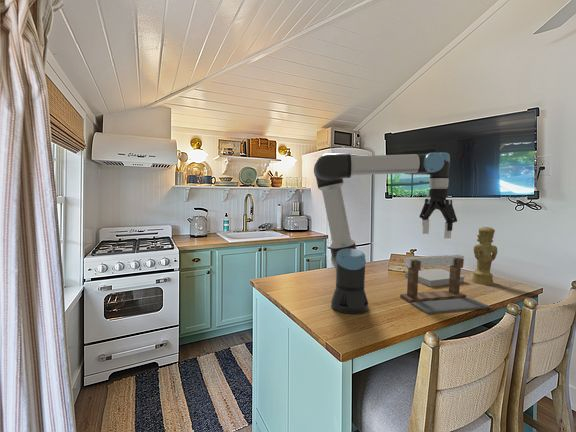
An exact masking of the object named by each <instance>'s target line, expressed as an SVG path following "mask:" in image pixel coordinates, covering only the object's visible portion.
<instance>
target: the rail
mask: <svg viewBox="0 0 576 432" xmlns="http://www.w3.org/2000/svg"><path fill="white" fill-rule="evenodd" d="M456 259H464V261H463V266H464V265H465V255H461V254H450V255H449V254H447V255H425V256H406V257H405V262H404V263H405V267H406V268H407V267H409V268H413V261H421V268H431V267H434V268H435V267H446V266H447V267H450V266H452V265H456Z"/></svg>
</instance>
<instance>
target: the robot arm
mask: <svg viewBox="0 0 576 432" xmlns="http://www.w3.org/2000/svg"><path fill="white" fill-rule="evenodd" d="M450 164H451V157H450V153H448V152H444V151H443V152H428V153H417V154H416V153H410V154H405V153H404V154H383V155H382V154H381V155H380V154H379V155H378V154H376V155H352V153H331V152H329V153H324V154H322V155H321V156H320V157H318V159H317V160H316V161H315V163H314V165H313V174H314V176H315V179H316V184H317V188H318V189H319V190H320V191H321V192H322V197H323V202H324V207H325V208H324V209H325V213H326V217H327V218H326V219H327V223H328V228H329V232H330V238H331V243H330V245H329V251H330V255H331V263H332V265H333V267H334V269H335V289H334V292H333V294H332V297H331V301H330V304H331V305H330V306H331V307H332V308H333V309H334V310H335V311H337V312H339V313H343V314H350V315H352V314H353V315H356V314H357V315H359V314H364V313H366V312H367V311H368V310H369V301H368V296H367V294H366V291H365V283H366V282H365V280H366V255H365V253H364V251H361V250H360V249H358V248H357V246H356V242H355V241H354V240H353V239H352V237H351V232H350V227H349V222H348V217H347V212H346V207H345V202H344V201H345V200H344V195H343V191H342V186H343V185H344V179H350V178H352V177H353V176H366V175H367V176H368V175H370V176H371V175H373V176H374V175H396V174H397V175H400V174H404V175H409V176H411V175H413V176H414V175H422V176H423V175H426V176H427V175H428V176H429V182H428V184H429V185H428V187H429V189H428V196H429V198H425V199H424V204H423V207H422V209H421V211H420V214H419V219H421V220H422V234H423V235H426V234H427V235H429V232H430V219H429V218H430V216H431V215H432V214H433V213H434V211H435V210H438V211H440V212H441V214H442V216H443V218H444V220H445V223H444V232H443V233H444V238H443V239H452V231H453V224H455V223H457V222H458V219H457V215H456V212H455V209H454V206H453V199H447V198H448V197H449V189H448V188H449V182H450V181H449V180H450V167H451V165H450Z"/></svg>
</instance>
